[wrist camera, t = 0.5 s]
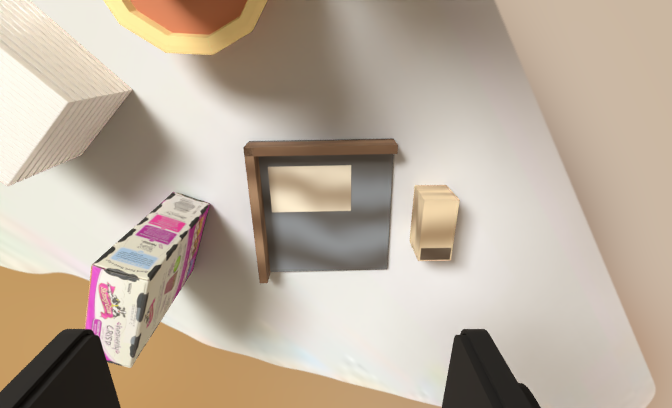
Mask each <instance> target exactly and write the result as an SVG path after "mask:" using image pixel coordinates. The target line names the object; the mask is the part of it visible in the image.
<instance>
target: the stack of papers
mask: <svg viewBox="0 0 672 408" xmlns="http://www.w3.org/2000/svg"><path fill="white" fill-rule="evenodd" d="M132 90H133V89H131V88H130V87H129V86H128V85H127V84H126V83H125V82H123V81H122V80H121V79H120V78H119V77H118V76H116V75H115V74H114V73H113V72H112V71H111V70H110V69H108V68H107V67H106V66H105V65H104V64H103V63H101V62H100V61H99V60H98V59H97V58H96V57H95V56H93V55H92V54H91V53H90V52H89V51H88V50H86V49H85V48H84V47H83V46H82V45H81V44H80V43H78V42H77V41H76V40H75V39H74V38H73V37H71V36H70V35H69V34H68V33H67V32H66V31H65V30H63V29H62V28H61V27H60V26H59V25H58V24H56V23H55V22H54V21H53V20H52V19H51V18H50V17H48V16H47V15H46V14H45V13H44V12H43V11H41V10H40V9H39V8H38V7H37V6H36V5H35V4H33V3H32V2H31V1H30V0H0V182H2V183H3V184H5V185H6V186H10V185H12V184H15V183H16V182H19V181H22V180H24V178H25V179H27V178H29V177H31V176H32V175H33V176H34V175H36V174H38V173H39V172H43V171H45V170H46V169H50V168H52V167H53V166H54V167H55V166H57V165H59V164H62V163H64V162H66V161H69V160H71V159H74V158H76V157H77V156H81V155H82V154H83V153H84V151H85V150H86V149H87V148H88V146H89V145H90V144H91V142H92V141H93V140H94V139H95V137H96V136H97V135H98V133H99V132H100V131H101V130H102V128H103V127H104V126H105V125H106V123H107V122H108V121H109V119H110V118H111V117H112V116H113V114H114V113H115V112H116V110H117V109H118V108H119V107H120V105H121V104H122V103H123V101H124V100H125V99H126V98H127V96H128V95H129V94H130V92H131V91H132Z"/></svg>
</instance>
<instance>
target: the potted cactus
mask: <svg viewBox="0 0 672 408" xmlns="http://www.w3.org/2000/svg"><path fill="white" fill-rule="evenodd" d="M103 1H104V2H105V3H106V5H107V6H108V8H109V9H110V11H111V12H112V14H113V15H114V17H115V18H116V19H117V21H118V22H119V24H120V25H122V26H123V27H125V28H127V29H128V30H130V31H131V32H133V33H135V34H136V35H138V36H140V37H141V38H143V39H144V40H146V41H148V42H149V43H151V44H152V45H154V46H156V47H157V48H159V49H161V50H162V51H164V52H165V53H182V54H202V55H214V54H215V53H217V52H219V51H220V50H222V49H224V48H225V47H227V46H229V45H230V44H232V43H234V42H235V41H237V40H239V39H240V38H242V37H244V36H245V35H247V34H249V33H250V32H252V31H253V29H254V27H255V25H256V23H257V21H258V19H259V17H260V15H261V13H262V11H263V9H264V7H265V5H266V3H267V1H268V0H103Z"/></svg>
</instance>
